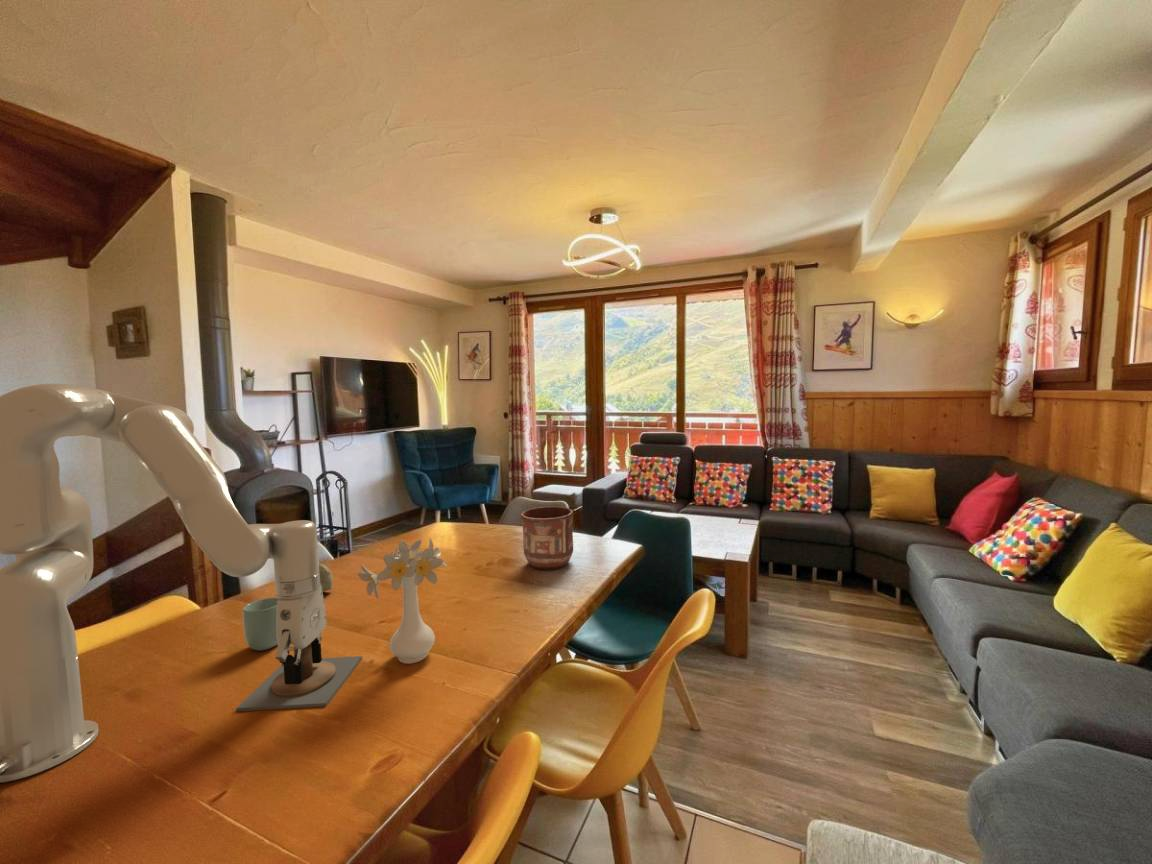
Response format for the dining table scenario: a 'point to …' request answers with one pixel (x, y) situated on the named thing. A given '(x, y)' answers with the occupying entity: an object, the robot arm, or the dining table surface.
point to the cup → (260, 623)
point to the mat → (320, 697)
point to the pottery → (548, 536)
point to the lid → (305, 676)
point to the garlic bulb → (325, 578)
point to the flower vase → (408, 597)
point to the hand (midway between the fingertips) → (304, 671)
